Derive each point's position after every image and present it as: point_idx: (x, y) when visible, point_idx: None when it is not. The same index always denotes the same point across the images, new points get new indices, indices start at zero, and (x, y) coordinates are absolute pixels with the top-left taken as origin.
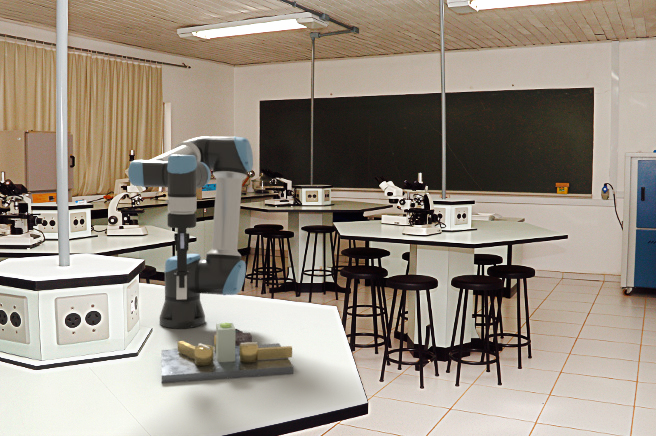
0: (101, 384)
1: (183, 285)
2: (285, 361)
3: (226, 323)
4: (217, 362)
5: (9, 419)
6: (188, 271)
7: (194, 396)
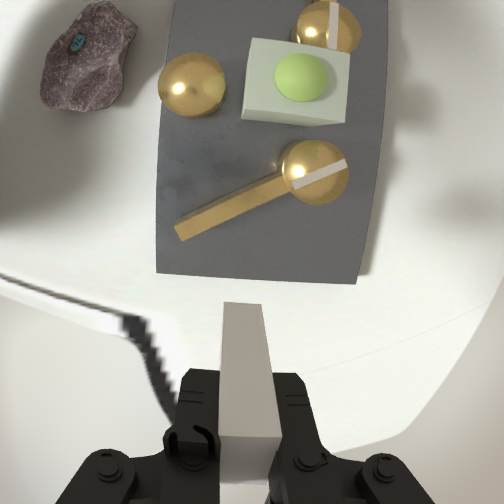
0: (307, 377)
1: (305, 393)
2: None
3: (291, 70)
4: (311, 128)
5: (376, 439)
6: (178, 443)
7: (436, 218)
